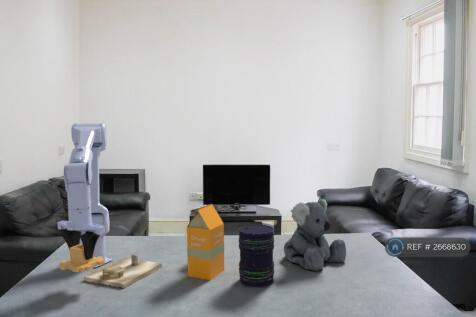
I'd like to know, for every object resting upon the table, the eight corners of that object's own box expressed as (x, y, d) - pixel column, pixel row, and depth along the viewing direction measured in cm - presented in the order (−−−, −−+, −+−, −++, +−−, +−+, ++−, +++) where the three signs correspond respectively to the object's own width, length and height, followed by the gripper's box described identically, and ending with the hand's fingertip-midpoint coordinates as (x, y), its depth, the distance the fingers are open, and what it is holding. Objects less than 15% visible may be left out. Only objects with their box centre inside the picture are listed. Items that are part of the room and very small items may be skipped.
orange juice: (224, 270, 135) (224, 204, 133) (210, 280, 127) (209, 210, 125) (202, 266, 139) (200, 202, 137) (187, 276, 131) (185, 208, 129)
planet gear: (54, 268, 119) (52, 249, 118) (81, 256, 128) (81, 239, 127) (83, 273, 114) (82, 254, 114) (109, 261, 123) (109, 243, 123)
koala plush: (315, 274, 131) (315, 208, 129) (270, 259, 145) (270, 199, 142) (350, 260, 142) (351, 200, 140) (306, 248, 156) (306, 192, 154)
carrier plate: (84, 280, 128) (83, 266, 127) (124, 261, 144) (124, 248, 144) (123, 288, 122) (123, 273, 122) (161, 267, 138) (161, 253, 138)
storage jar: (278, 276, 129) (278, 225, 128) (269, 289, 120) (269, 235, 119) (245, 273, 133) (244, 223, 131) (234, 285, 123) (233, 232, 122)
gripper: (47, 208, 119) (50, 258, 120) (90, 213, 113) (92, 266, 114) (67, 203, 125) (70, 250, 127) (109, 207, 119) (111, 257, 121)
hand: (82, 257), depth 121 cm, fingers closed on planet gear, 4 cm apart
